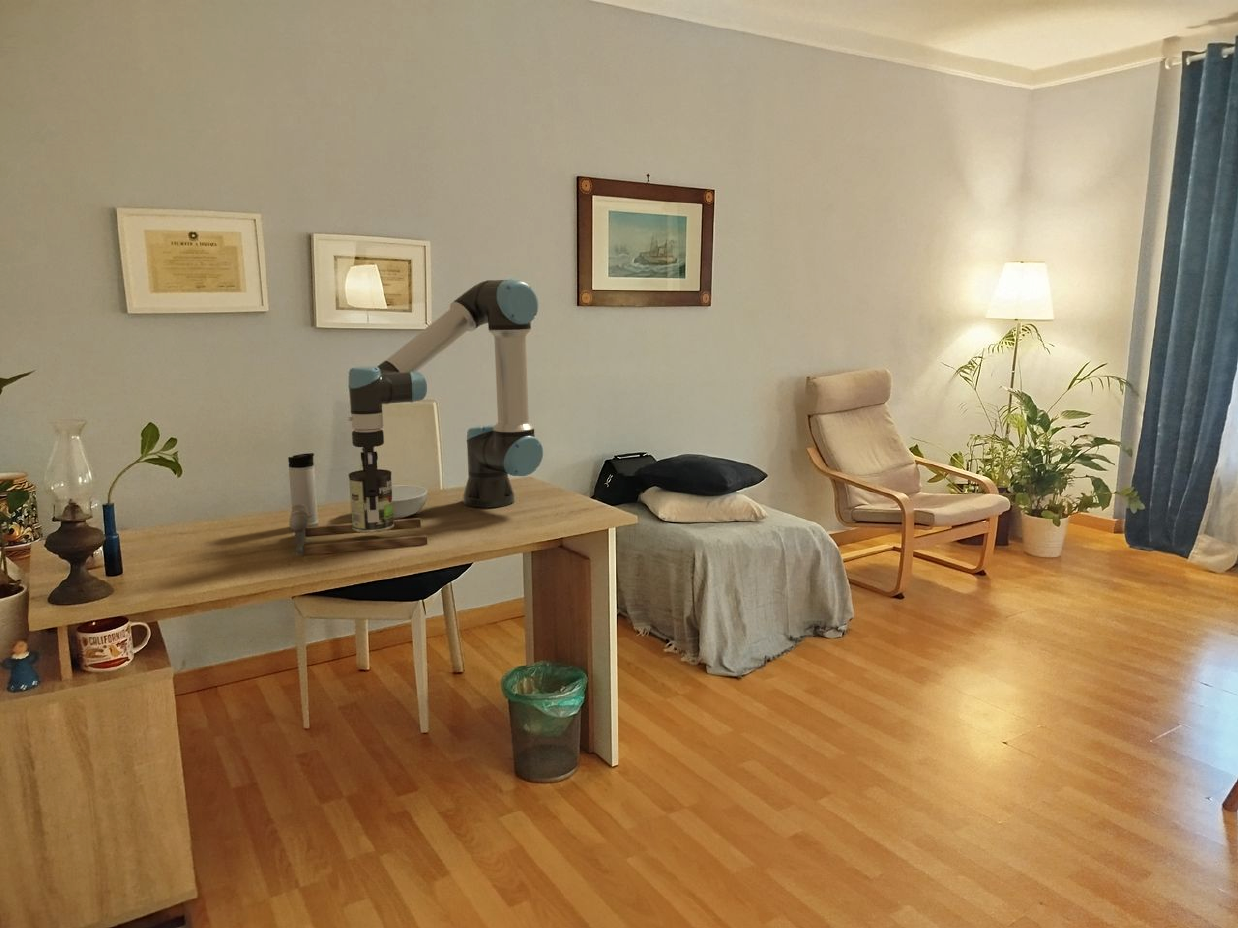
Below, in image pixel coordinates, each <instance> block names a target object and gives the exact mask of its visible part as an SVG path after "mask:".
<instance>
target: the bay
mask: <svg viewBox="0 0 1238 928" xmlns="http://www.w3.org/2000/svg"><path fill="white" fill-rule="evenodd" d="M307 520H308V508H307V506H305V505H304V504H297V505H295V506H294V507H293V508H292V507H291V513H290V516H289V528H290V529H291V530H292V531H294V543H295V555H296V557H299V556H300V557H301V556H309V555H320V554H332V553H333V554H334V553H343V552H345V553H346V552H352V551H353V552H357V551H368V550H369V551H370V550H378V549H379V550H380V549H388V548H390V549H391V548H401V547H403V548H404V547H412V546H413V545H415V546H423V544H427V545H428V535H427V534H421V535H411V536H410V535H409V536H399V537H398V536H397V537H389V538H388V537H385V538H376V539H364V540H363V539H362V540H351V541H340V542H328V543H317V544H316V543H315V544H305V541H306V537H309V536H311V537H312V536H320V535H321V536H322V535H332V534H333V535H334V534H346V533H358V532H357V531H354V530H353V529H352V527H353V526H352V522H351V523H340V524H338V523H337V524H325V525H318V526H310V527H306V526H307ZM393 521H394V527H393V528H391V529H390V530H395V529H408V528H421V527H422V525H421V523H422V521H421V518H420V517H418V518H417V517H414V518H401V519H396V520H393ZM413 547H414V546H413Z"/></svg>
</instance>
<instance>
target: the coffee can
mask: <svg viewBox="0 0 1238 928" xmlns="http://www.w3.org/2000/svg"><path fill="white" fill-rule="evenodd" d="M376 477H377V491H378V507H379V522H372V523H368V516H367V499H366V497H365V498H364V494H367V488H366V475H365V471H363V469H362V470H355V471H352V472H349V473H348V478H349V480H348V481H349V494H350V495H351V498H350V507H351V508H350V509H351V521H352V522H351V523H352V526H353V527H352V529H353V530H354V531H357V532H356V533H377V532H378V533H379V532H380V533H381V532H384V531H388V530H392V529H391V528H393V527H394V521H393V503H392V484H393V483H392V471H391V470H389V469H380V468H377V470H376ZM370 491H375V490H370ZM350 495H349V496H350Z"/></svg>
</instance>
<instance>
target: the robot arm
mask: <svg viewBox="0 0 1238 928" xmlns="http://www.w3.org/2000/svg"><path fill="white" fill-rule="evenodd" d="M538 311H539V299H538V297H537V294H536V291H535V290H534V289H533V288H532V287H531V286H530V285H529V284H528V283H527V282H525V281H522V280H518V279H511V278H510V279H500V280H499V279H498V280H494V279H491V280H490V279H489V280H483V281H481V282H479V283H477V284H475V285H473V286H472V287H471V288H469V289H468V290H466V291H465V292H464V293H462V294H461V295H460V296H458V297H457V298H456V299H455V300H454V301H452V302H451V303H450V305H449V309H448V310H447V311H445V313H443V314H442V315H441V316H439V318H437V319H436V320H434V321H433V322H432V323H431V324H429V325H428V326H427V327H426V328H425V329H423V330H422V331H420V332H419V333H418V334H417V335H415V336H414V337H413V338H412V339H410V340H409V341H408V342H407V343H405V344H404V345H403V346H402V347H400V348H399V349H398V350H397V351H396V352H394V353H392V354H391V355H390V356H389V357H388V358H387V359H385V360H384V361H382V362H381V363H380V364H379V365H377V366H355V367H354V366H353V367H351V368H350V369H349V371H348V384H347V386H348V391H349V392H348V393H349V403H350V404H349V405H350V416H349V417H348V422H351V429H353V431H351V439H352V446H354V447H356V448H362V449H361V450H362V451H361V452H360V459H361V460H360V461H361V467H362V470H363V471H365V475H366V488H367V494H364V498H365V497H366V499H367V516H368V523H372V522H379V507H378V491H377V477H376V470H377V469H378V459H379V456H378V452H377V451H375V447H380V446H383V445H384V444H385V438H384V437H385V436H384V430H383V428H384V416H383V414H384V413H383V405H388V404H389V405H390V404H402V403H414V402H419V401H420V402H421V401H423V400H424V399H425V398H426V396H427V393H428V392H427V391H428V384H427V380H426V378H425V376H424V374H423V373H421V372H419V371H420V370H421V369H422V368H424V367H425V366H426V365H427V364H428V363H429V362H431V361H432V360H433V359H434V358H436V357H437V356H438V355H439V354H441V353H442V352H443V351H445V349H446V348H448V347H449V346H451V344H452V343H454V342H455V341H457V340H458V339H460V337H462V336H463V335H464V334H465V333H466V332H474V331H475V330H476V329H477V328H478V327H481V326H483V325H485V324H487V325H488V332H489V333H491V334H492V335H493V337H494V338H493V339H494V356H495V357H494V358H495V359H494V360H495V378H496V379H495V380H496V381H495V383H496V402H497V403H496V404H497V405H496V406H497V423H496V424H492V425H491V424H489V425H480V426H473V427H470V428H468V429H467V433H466V445H467V446H466V448H467V449H466V450H467V469H468V471H467V472H468V478H467V482H466V485H465V487H464V492H463V494H462V495H463V496H462V497H463V498H462V500H463V504H464V505H465V506H468V507H473V508H498V507H505V506H509V505H511V503H512V504H513V503H514V502H515V492H514V490H513V487H512V484H511V481H510V478H509V476H513V477H527V476H529V475H532V474H533V473H534V472H535V471H536V470H537V469H538V467H539V466H540V465H541V463H542V461H543V456H544V449H543V445H542V443H541V442H540V441H539V440H538V438H536V437H535V436H536V435H535V426H534V425H533V424H532V423H531V422H530V421H529V395H528V367H527V363H528V362H527V340H526V338H527V337H526V336H527V335H528V334H529V332H530V331H531V330H532V325H531V324H532V323H531V322H532V321H533V320H534V319H535V316H537V314H538ZM370 490H375V491H370Z"/></svg>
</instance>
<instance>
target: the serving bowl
mask: <svg viewBox="0 0 1238 928" xmlns="http://www.w3.org/2000/svg"><path fill="white" fill-rule="evenodd" d="M428 493H429V492H428V489H427V488H425V487H422V486H418V485H406V484H402V485H400V484H399V485H392V503H393V520H401V519H405V518H406V517H409V516H412V515H414V514H416V513H418V512H420V511H421V510H422V509H423V508H424V507H425V504H426V502H427V499H428ZM349 498H350V499H351V495H349Z"/></svg>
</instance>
